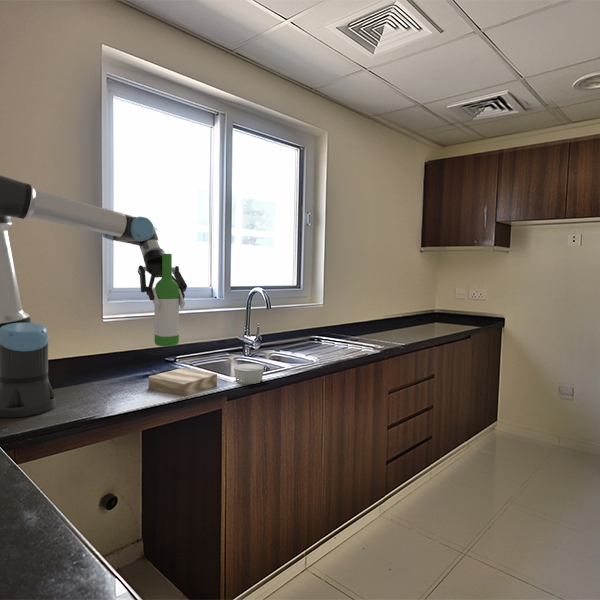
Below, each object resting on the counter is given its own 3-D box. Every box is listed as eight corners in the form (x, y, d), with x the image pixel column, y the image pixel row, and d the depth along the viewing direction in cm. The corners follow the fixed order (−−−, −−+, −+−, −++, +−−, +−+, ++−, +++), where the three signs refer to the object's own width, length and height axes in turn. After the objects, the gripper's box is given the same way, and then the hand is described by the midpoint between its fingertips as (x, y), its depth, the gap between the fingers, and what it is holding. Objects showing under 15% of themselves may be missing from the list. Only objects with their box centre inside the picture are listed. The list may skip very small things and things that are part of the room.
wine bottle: (169, 341, 149) (170, 254, 147) (183, 344, 145) (184, 254, 142) (149, 344, 143) (149, 253, 141) (163, 347, 138) (163, 253, 136)
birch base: (183, 396, 138) (184, 384, 137) (148, 388, 145) (148, 376, 145) (216, 385, 152) (217, 374, 151) (182, 378, 159) (183, 367, 159)
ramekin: (237, 385, 152) (237, 371, 152) (230, 378, 163) (230, 364, 162) (267, 383, 157) (268, 369, 156) (259, 376, 167) (259, 362, 167)
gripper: (180, 264, 160) (197, 312, 148) (121, 263, 148) (135, 315, 136) (185, 249, 155) (203, 298, 144) (125, 247, 143) (140, 300, 132)
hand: (170, 306), depth 140 cm, fingers closed on wine bottle, 8 cm apart
